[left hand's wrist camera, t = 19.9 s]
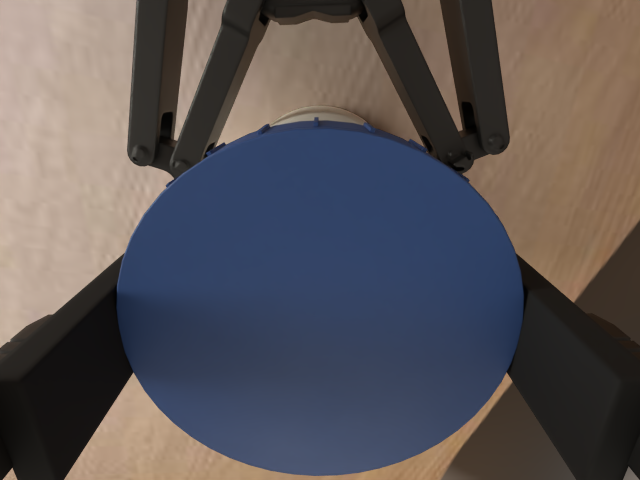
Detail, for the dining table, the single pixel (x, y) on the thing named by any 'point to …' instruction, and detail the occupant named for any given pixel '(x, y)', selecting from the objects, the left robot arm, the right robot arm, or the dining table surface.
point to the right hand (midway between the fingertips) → (322, 287)
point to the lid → (320, 299)
